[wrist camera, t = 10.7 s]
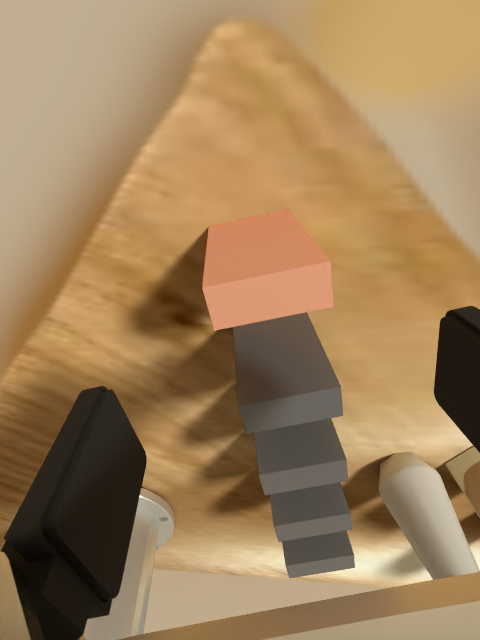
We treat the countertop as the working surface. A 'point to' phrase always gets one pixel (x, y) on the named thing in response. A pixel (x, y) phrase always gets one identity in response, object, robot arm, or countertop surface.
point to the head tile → (263, 271)
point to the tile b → (299, 457)
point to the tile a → (283, 374)
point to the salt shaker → (425, 515)
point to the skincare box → (467, 475)
